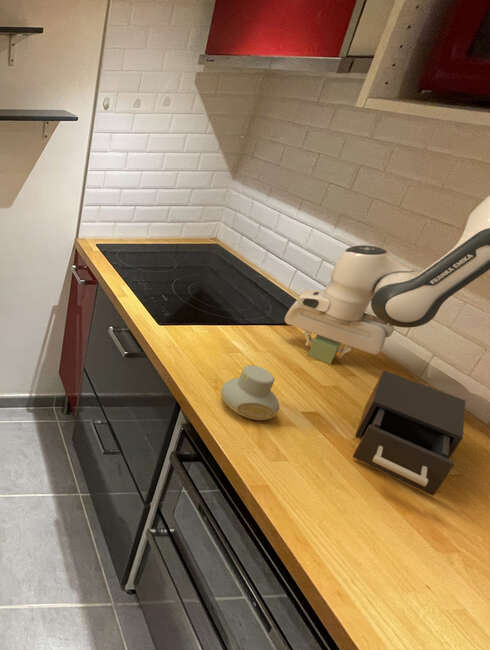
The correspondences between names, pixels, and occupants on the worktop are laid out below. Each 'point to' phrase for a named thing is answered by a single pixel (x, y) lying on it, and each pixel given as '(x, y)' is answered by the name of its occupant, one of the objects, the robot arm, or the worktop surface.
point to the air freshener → (252, 394)
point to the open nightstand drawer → (406, 450)
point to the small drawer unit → (416, 406)
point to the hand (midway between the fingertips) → (322, 351)
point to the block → (323, 349)
